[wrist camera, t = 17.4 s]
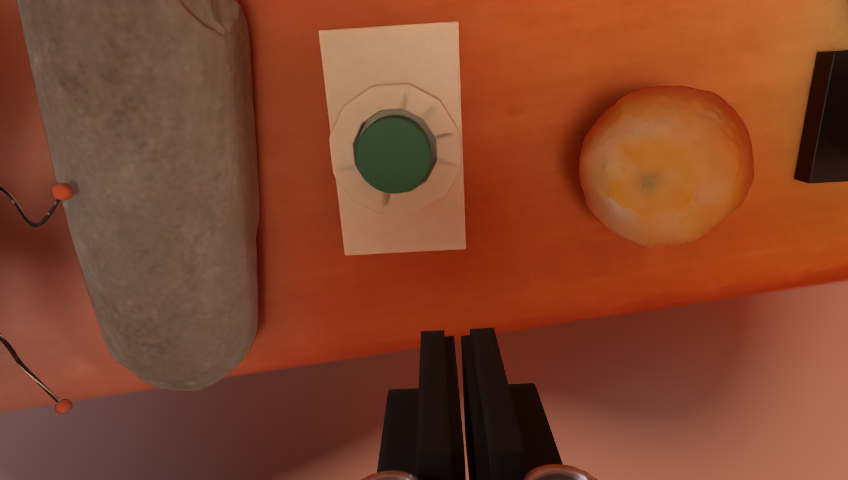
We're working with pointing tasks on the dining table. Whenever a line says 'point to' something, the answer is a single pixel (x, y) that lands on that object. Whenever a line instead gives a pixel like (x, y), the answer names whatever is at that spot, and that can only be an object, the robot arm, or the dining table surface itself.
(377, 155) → the button
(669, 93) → the fruit
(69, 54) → the stone
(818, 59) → the bracket
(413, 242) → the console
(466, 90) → the dining table surface
